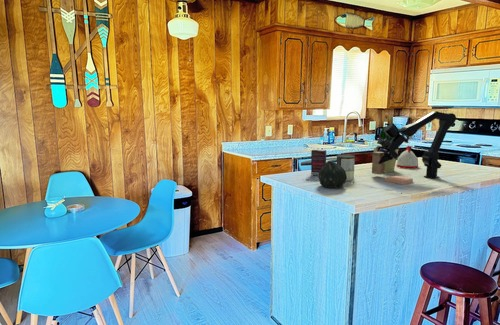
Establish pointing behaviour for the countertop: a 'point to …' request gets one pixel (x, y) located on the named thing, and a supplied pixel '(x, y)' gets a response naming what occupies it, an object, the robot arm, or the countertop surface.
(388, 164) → the potted cactus
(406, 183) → the bottom slab
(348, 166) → the coffee can
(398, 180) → the top slab
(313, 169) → the supplement box
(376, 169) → the walnut block
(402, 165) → the knit hat
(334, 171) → the squash
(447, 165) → the countertop surface
